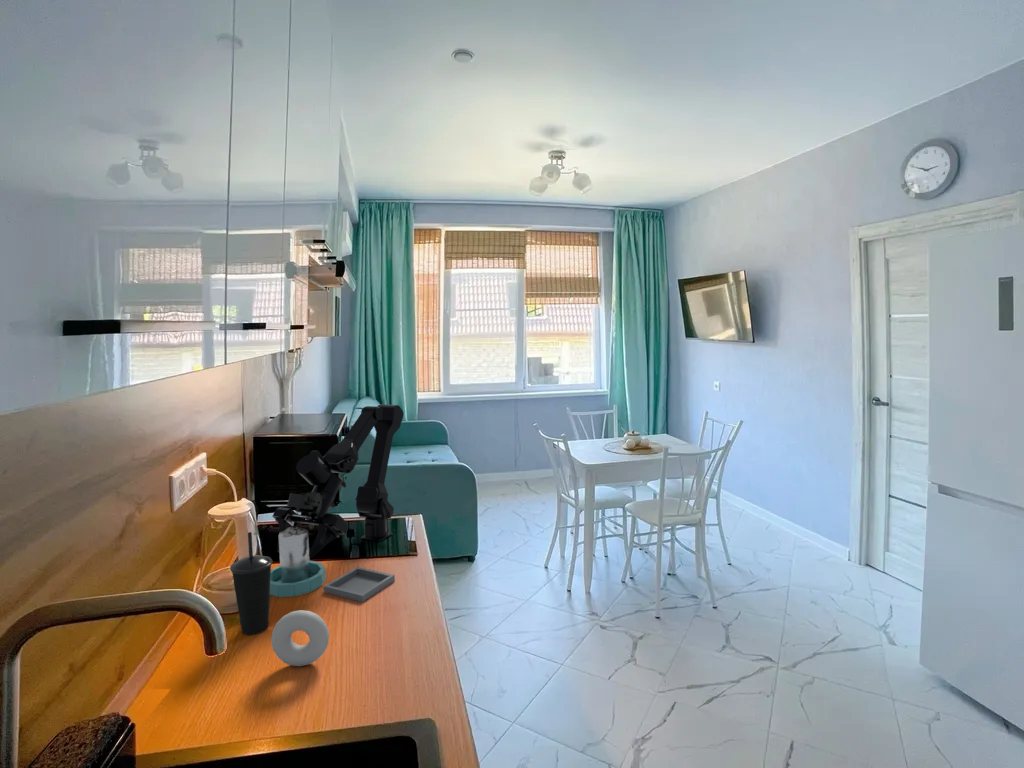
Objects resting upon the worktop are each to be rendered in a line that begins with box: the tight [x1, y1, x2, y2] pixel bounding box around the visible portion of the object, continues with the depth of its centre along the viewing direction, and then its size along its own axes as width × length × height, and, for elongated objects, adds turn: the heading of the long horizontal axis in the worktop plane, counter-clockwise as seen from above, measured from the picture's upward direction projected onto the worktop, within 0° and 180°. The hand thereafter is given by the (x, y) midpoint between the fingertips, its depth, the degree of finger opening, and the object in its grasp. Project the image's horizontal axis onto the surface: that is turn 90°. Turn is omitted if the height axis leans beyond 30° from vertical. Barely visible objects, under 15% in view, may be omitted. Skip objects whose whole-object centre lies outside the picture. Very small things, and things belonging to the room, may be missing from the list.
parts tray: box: [323, 566, 396, 603], centre depth 127 cm, size 11×11×2 cm
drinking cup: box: [229, 531, 273, 636], centre depth 110 cm, size 8×8×20 cm
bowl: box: [270, 560, 327, 598], centre depth 129 cm, size 13×13×4 cm
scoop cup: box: [278, 526, 311, 583], centre depth 129 cm, size 6×6×13 cm
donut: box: [270, 609, 330, 667], centre depth 98 cm, size 10×3×10 cm, turn 94°
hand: (294, 554), depth 129 cm, fingers open, 9 cm apart
